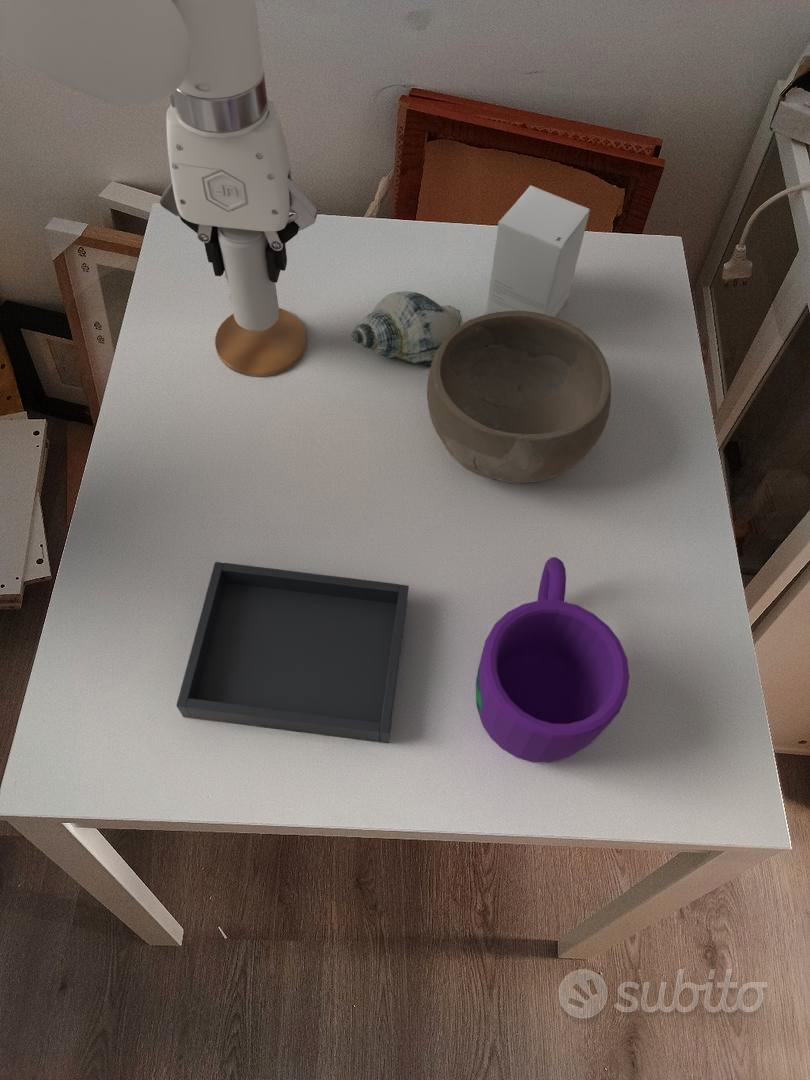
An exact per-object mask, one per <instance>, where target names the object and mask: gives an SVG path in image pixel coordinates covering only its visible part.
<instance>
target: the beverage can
mask: <svg viewBox="0 0 810 1080" xmlns="http://www.w3.org/2000/svg"><path fill="white" fill-rule="evenodd" d="M218 240H219V244H220V249H221V254H222V259H223V264H224V269H225V270H224V273H225V279H226V283H227V288H228V293H229V298H230V303H231V308H232V314H234V318H235V320H236V322H237V323H238V325H239V326H241V327H243V328H244V329H246V330H249V331H255V332H257V331H263V330H266V329H268V328H270V327H271V326H273V325H274V324H275V323H276V321H277V320H278V318H279V308H280V307H279V300H278V293H277V285H276V284H277V283H275V282H271V281H270V280H269V273H268V266H267V260H266V248H267V244H268V240H267V238H266V236H265V234H264V231H254V230H244V229H235V228H226V227H218Z"/></svg>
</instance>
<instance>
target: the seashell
mask: <svg viewBox="0 0 810 1080" xmlns="http://www.w3.org/2000/svg"><path fill="white" fill-rule="evenodd" d="M462 322H463V317H462V314H461V311H460V310H459V309H457V308H456V307H455V306H451V305H440V304H439V303H437V302H436V301H435V300H434V299H432V298H430V297H428V296H426V295H425V294H423V293H420V292H416V291H407V290H406V291H405V290H404V291H403V290H402V291H395V292H392V293H389V294H387V295H385V296H384V297H383V298H382V299H381V300H380V301H379V302H377V304H376V305H375V307H374V309H373V310H372V312H371V313H368V314H367V315H366V316H365V317H364V318H363V319H361V322H360V323H359V324H358V325H357V326H356V327H355V328H354V329H353V331H352V332H351V333H350V334H349V339H350V340H351V341H352V342H356V343H357V344H358V345H359V344H360V345H361V346H362V347H363V348H365V349H371V351H373V353H375V354H376V355H378V356H380V357H383V358H386V359H391V358H397V359H399V360H401V361H403V362H404V361H405V362H407V363H409V364H414V365H430V366H431V364H432V361H433V359H434V356H435V354H436V352H437V350H438V348H439V347H440V345H441V344H442V342H443V340H444V339H445V338H446V337H447V336H448V335H449V334H450V333H451V332H452V331H453V330H455V329H456V328H457V327H459V326H460V325H462V324H463V323H462Z"/></svg>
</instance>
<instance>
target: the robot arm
mask: <svg viewBox="0 0 810 1080" xmlns="http://www.w3.org/2000/svg"><path fill="white" fill-rule="evenodd" d="M260 34H261V33H260V25H259V17H258V10H257V1H256V0H0V56H1V57H3V58H5V59H7V60H9V61H11V62H13V63H14V64H16V65H18V66H20V67H22V68H24V69H27V70H29V71H30V72H33V73H35V74H38V75H40V76H42V77H44V78H46V79H48V80H51V81H53V82H55V83H58V84H61V85H63V86H66V87H67V88H71V89H73V90H75V91H77V92H80V93H83V94H85V95H88V96H90V97H93V98H95V99H98V100H100V101H104V102H106V103H109V104H113V105H117V106H122V107H129V108H130V107H131V108H141V107H142V108H143V107H148V106H153V105H156V104H158V103H161V102H163V101H165V100H167V99H168V98H170V102H171V103H170V105H169V107H168V108H167V110H166V116H165V117H166V121H165V122H166V124H165V125H166V143H167V144H166V145H167V154H168V164H169V170H170V178H171V179H170V180H171V181H170V182H169V184H168V185H167V187H166V189H164V191H163V193H162V196H161V198H160V200H159V205H160V206H161V207H162V208H164V209H165V210H167V212H169V213H171V214H173V215H174V216H176V217H179V218H180V221H181V222H182V223H183V224H184V225H186V226H187V227H188V228H190V229H191V230H192V231H193V232H194V233H196V234H197V239H198V241H200V242H201V243H203V245H204V249H205V255H206V259H207V262H208V263H211V265H212V268H213V273H214V276H215V277H222V276H223V275H224V273H225V269H224V264H223V259H222V254H221V249H220V244H219V240H218V227H226V228H235V229H244V230H254V231H264V234H265V236H266V238H267V240H268V244H267V248H266V260H267V266H268V273H269V280H270V281H271V282H275V284H277V283H278V282H279V277H280V274H281V271H283V272H284V271H286V269H287V265H288V256H287V247H286V244H287V243H288V242H289V241H290V240H292V239H293V238H294V237H295V236H297V235H298V234H299V232H300V231H303V230H305V229H307V228H308V227H310V226H312V225H313V224H315V223H316V222H317V221H316V220H317V218H318V217H317V216H318V213H319V210H318V209H317V207H316V206H315V205H314V203H312V202H311V201H310V200H309V199H308V197H307V196H306V195H305V194H304V193H303V192H302V191H301V189H300V188H299V187H298V186H297V185H296V184H295V183H294V177H293V170H292V164H291V163H292V162H291V158H290V153H289V149H288V145H287V141H286V136H285V132H284V129H283V125H282V121H281V120H280V116H279V113H278V110H277V107H276V105H275V103H274V101H272V100H271V99H270V100H269V99H268V94H267V84H266V76H265V69H264V62H263V52H262V51H263V50H262V44H261V35H260ZM290 210H292V211H293V212H294V213H290Z"/></svg>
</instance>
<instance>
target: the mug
mask: <svg viewBox="0 0 810 1080" xmlns="http://www.w3.org/2000/svg"><path fill="white" fill-rule="evenodd" d="M566 570H567V569H566V567H565V564H564V562H563V561H562V560H561V559H560V558H558V557H556V556H551V557H550V558H548V559H547V560H546V561H545V563H544V567H543V571H542V573H541V577H540V582H539V587H538V592H537V600H534V601H531V602H526V603H523V604H520V605H518V606H517V607H515V608H513V609H511V610H509V611H507V612H506V613H505V614H504V615H503V616H502V617H501V618H499V619H498V621H496V622H495V623H494V625H493V627H492V628H491V630H490V632H489V634H488V635H487V637H486V638H485V641H484V645H483V647H482V652H481V656H480V660H479V664H478V667H477V668H478V669H477V674H476V679H475V680H476V681H475V698H476V699H475V703H476V709H477V713H478V716H479V719H480V723H481V725H482V726H483V728H484V730H485V731H486V733H487V734H488V736H489V737H490V739H491V740H492V741H493V742H494V743H495V744H496V745H497V746H499V747H500V748H501V749H502V750H503V751H505V752H507V753H508V754H510V755H512V756H513V757H514V758H517V759H519V760H523V761H527V762H531V763H535V764H537V763H539V764H541V763H543V764H544V763H545V764H546V763H547V764H551V763H554V762H558V761H561V760H566V759H568V758H570V757H572V756H573V755H576V754H577V753H579V752H580V751H582V750H584V749H585V748H587V747H588V746H590V745H591V744H592V743H593V742H594V741H595V740H596V739H597V738H598V737H599V736H600V735H601V734H602V733H603V732H604V730H605V729H606V728H607V727H608V726H609V725H610V724H611V723H612V722H613V721H614V719H615V718H616V717H617V716H618V714H619V713H620V711H621V709H622V707H623V705H624V702H625V700H626V698H627V696H628V690H629V683H630V670H629V663H628V657H627V654H626V653H625V650H624V648H623V645H622V643H621V640H620V639H619V638H618V636H617V635H616V634H615V633H614V632H613V630H612V629H611V627H610V626H609V625H608V624H607V623H606V622H604V620H602V619H601V618H599V617H598V615H596V614H595V613H593V612H591V611H590V610H588V609H586V608H584V607H582V606H580V605H578V604H574V603H570V602H567V601H565V598H566V586H567V571H566Z"/></svg>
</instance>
